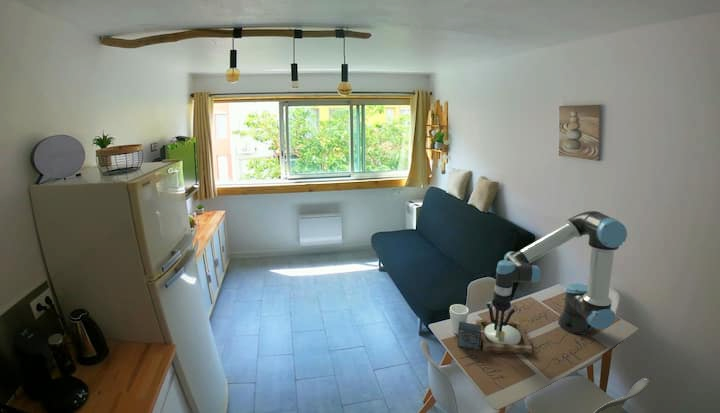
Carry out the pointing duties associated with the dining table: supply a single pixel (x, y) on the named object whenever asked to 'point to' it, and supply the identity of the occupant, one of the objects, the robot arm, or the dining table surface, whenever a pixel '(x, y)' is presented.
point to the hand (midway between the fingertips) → (497, 335)
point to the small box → (469, 335)
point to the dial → (502, 335)
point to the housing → (521, 348)
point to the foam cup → (458, 316)
